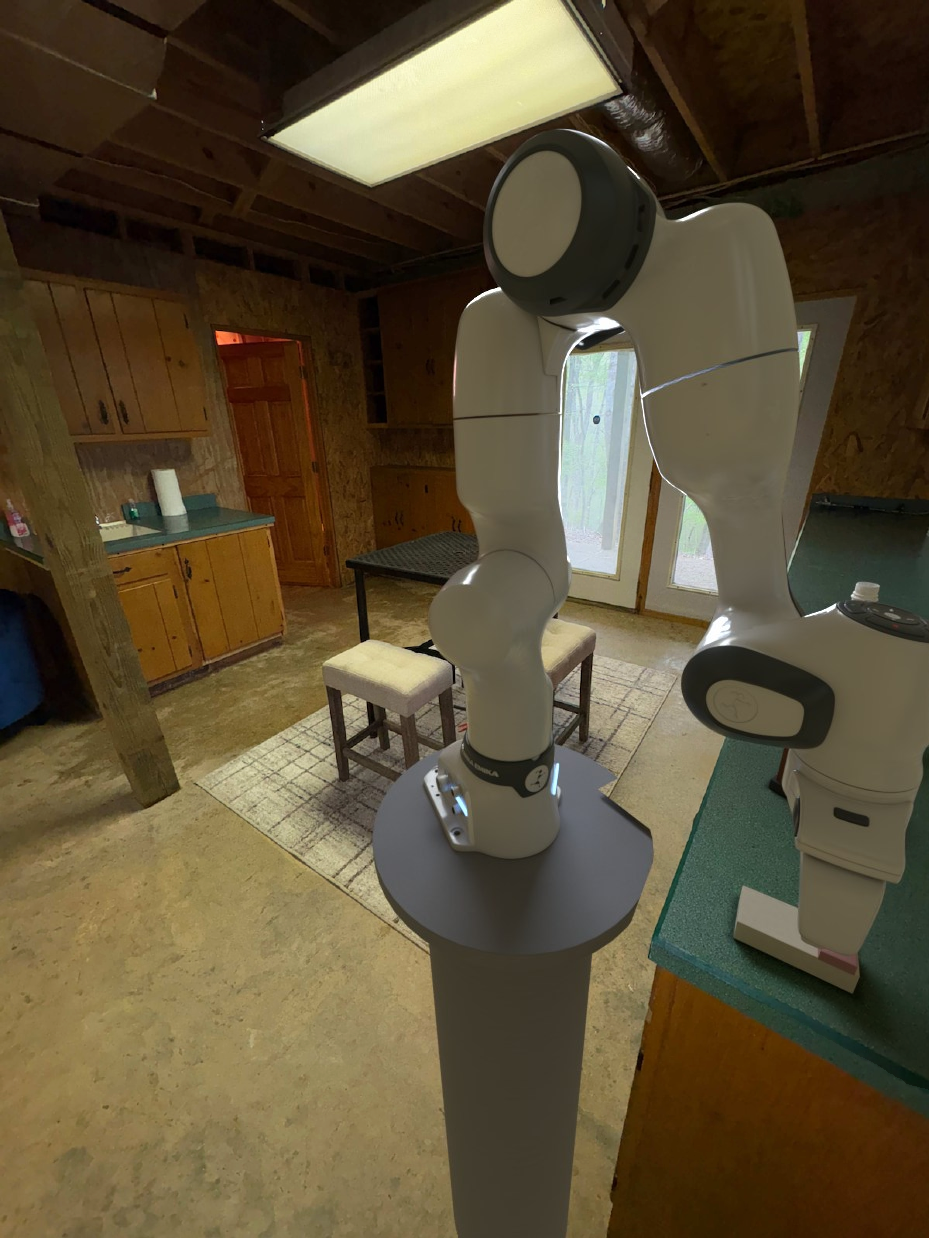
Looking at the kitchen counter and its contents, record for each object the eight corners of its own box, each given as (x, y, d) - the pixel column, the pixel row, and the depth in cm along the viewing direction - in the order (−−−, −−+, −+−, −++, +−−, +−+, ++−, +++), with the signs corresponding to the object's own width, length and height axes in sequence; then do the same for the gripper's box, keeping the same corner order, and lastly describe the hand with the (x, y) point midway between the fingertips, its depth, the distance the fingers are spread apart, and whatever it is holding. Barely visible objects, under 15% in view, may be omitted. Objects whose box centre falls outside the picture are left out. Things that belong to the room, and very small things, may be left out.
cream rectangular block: (732, 939, 50) (739, 914, 49) (739, 899, 55) (745, 875, 53) (852, 995, 45) (863, 969, 44) (849, 947, 49) (859, 922, 48)
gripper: (803, 717, 52) (780, 818, 57) (797, 848, 36) (766, 972, 41) (879, 734, 48) (847, 839, 53) (909, 887, 33) (860, 1016, 38)
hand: (812, 898), depth 47 cm, fingers open, 8 cm apart
